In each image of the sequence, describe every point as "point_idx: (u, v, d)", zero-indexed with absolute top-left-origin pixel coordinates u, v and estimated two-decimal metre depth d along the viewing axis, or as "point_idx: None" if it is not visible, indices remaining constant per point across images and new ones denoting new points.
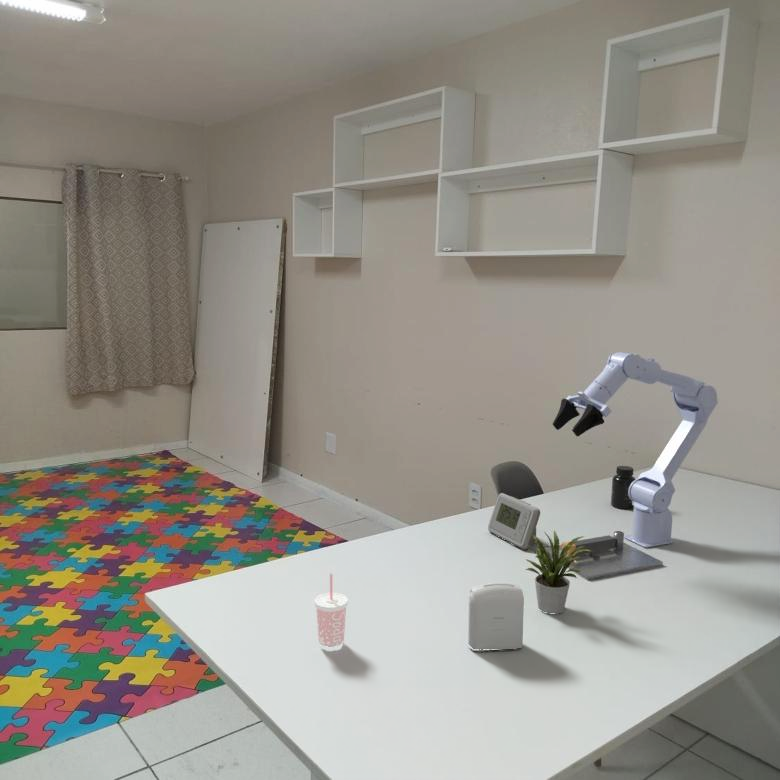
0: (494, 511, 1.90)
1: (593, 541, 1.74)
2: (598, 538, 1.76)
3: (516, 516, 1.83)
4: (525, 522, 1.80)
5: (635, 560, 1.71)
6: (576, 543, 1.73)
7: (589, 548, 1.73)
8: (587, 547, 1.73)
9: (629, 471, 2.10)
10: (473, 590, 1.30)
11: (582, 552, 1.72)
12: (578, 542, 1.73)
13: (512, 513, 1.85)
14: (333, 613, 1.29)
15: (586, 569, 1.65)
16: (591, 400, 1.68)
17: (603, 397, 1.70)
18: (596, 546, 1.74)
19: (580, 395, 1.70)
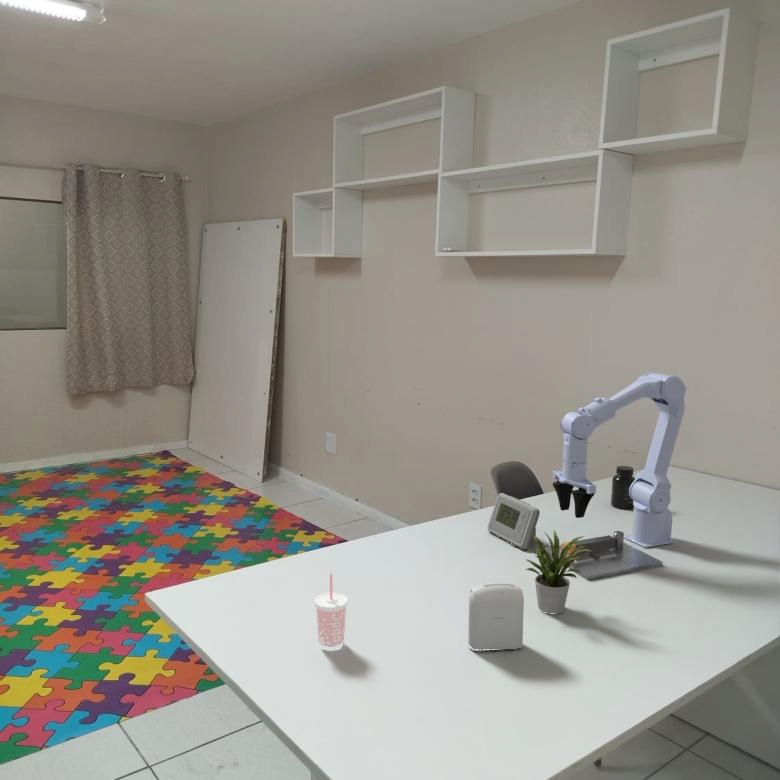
0: (494, 511, 1.91)
1: (593, 541, 1.74)
2: (598, 538, 1.76)
3: (515, 516, 1.83)
4: (524, 522, 1.80)
5: (635, 560, 1.71)
6: (576, 543, 1.73)
7: (589, 548, 1.73)
8: (587, 547, 1.73)
9: (629, 471, 2.10)
10: (473, 590, 1.30)
11: (582, 552, 1.72)
12: (578, 542, 1.73)
13: (511, 513, 1.85)
14: (333, 613, 1.29)
15: (586, 569, 1.65)
16: (574, 484, 1.74)
17: (580, 471, 1.74)
18: (596, 546, 1.74)
19: None
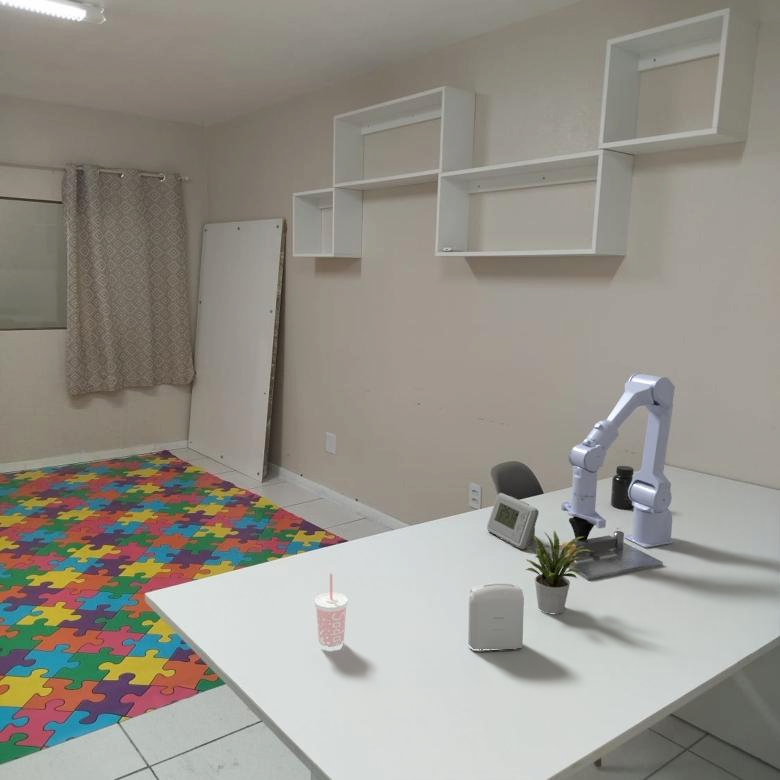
0: (493, 511, 1.91)
1: (593, 541, 1.74)
2: (598, 538, 1.76)
3: (514, 516, 1.83)
4: (523, 522, 1.80)
5: (635, 560, 1.71)
6: (576, 543, 1.72)
7: (589, 548, 1.73)
8: (587, 547, 1.73)
9: (629, 471, 2.10)
10: (473, 590, 1.30)
11: (582, 552, 1.72)
12: (578, 542, 1.73)
13: (511, 513, 1.85)
14: (333, 613, 1.29)
15: (586, 569, 1.65)
16: (583, 517, 1.71)
17: (590, 504, 1.71)
18: (596, 546, 1.74)
19: None
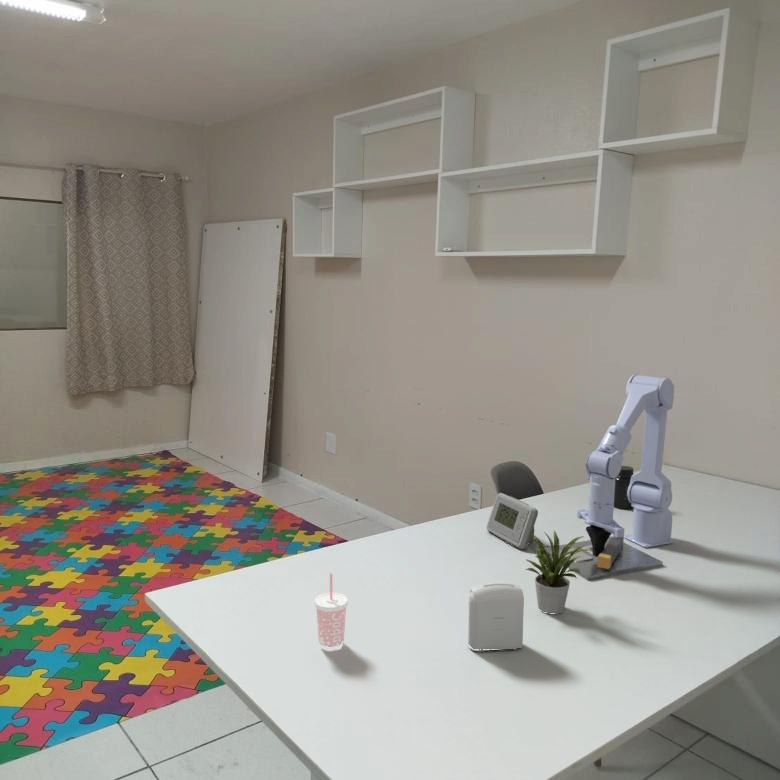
0: (493, 511, 1.91)
1: (614, 547, 1.70)
2: (611, 543, 1.73)
3: (513, 516, 1.83)
4: (523, 522, 1.80)
5: (635, 560, 1.71)
6: (607, 553, 1.66)
7: (614, 555, 1.69)
8: (614, 554, 1.68)
9: (629, 471, 2.10)
10: (473, 590, 1.30)
11: (612, 561, 1.67)
12: (607, 552, 1.67)
13: (510, 513, 1.85)
14: (333, 613, 1.29)
15: (586, 569, 1.65)
16: (600, 526, 1.65)
17: (608, 513, 1.66)
18: (616, 551, 1.71)
19: None
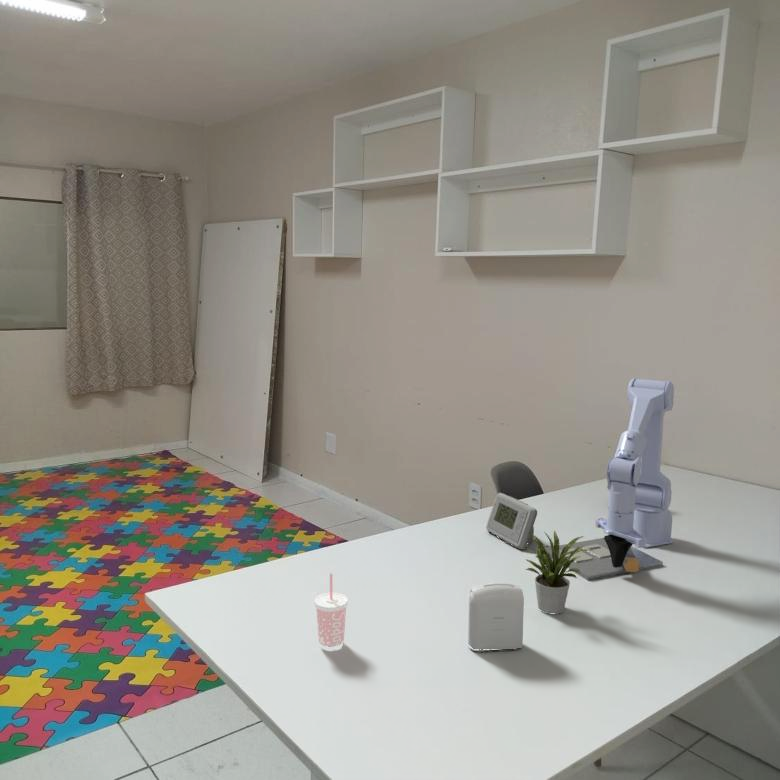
0: (492, 511, 1.91)
1: None
2: None
3: (513, 516, 1.83)
4: (522, 522, 1.80)
5: None
6: (631, 556, 1.65)
7: None
8: None
9: None
10: (473, 590, 1.30)
11: None
12: (628, 554, 1.66)
13: (510, 513, 1.85)
14: (333, 613, 1.29)
15: (586, 569, 1.65)
16: (620, 536, 1.59)
17: (628, 522, 1.60)
18: None
19: None
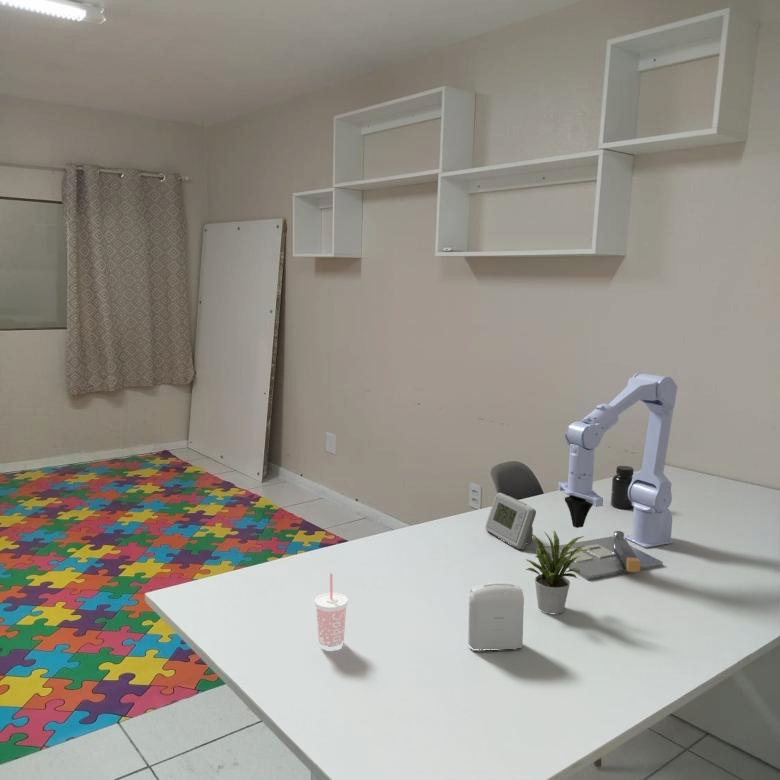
0: (492, 510, 1.91)
1: (629, 548, 1.70)
2: (622, 544, 1.72)
3: (512, 516, 1.83)
4: (520, 522, 1.80)
5: None
6: (632, 556, 1.65)
7: None
8: None
9: (629, 471, 2.10)
10: (473, 590, 1.30)
11: None
12: (629, 554, 1.66)
13: (508, 513, 1.85)
14: (333, 613, 1.29)
15: (586, 569, 1.65)
16: (580, 496, 1.67)
17: (587, 483, 1.68)
18: None
19: None
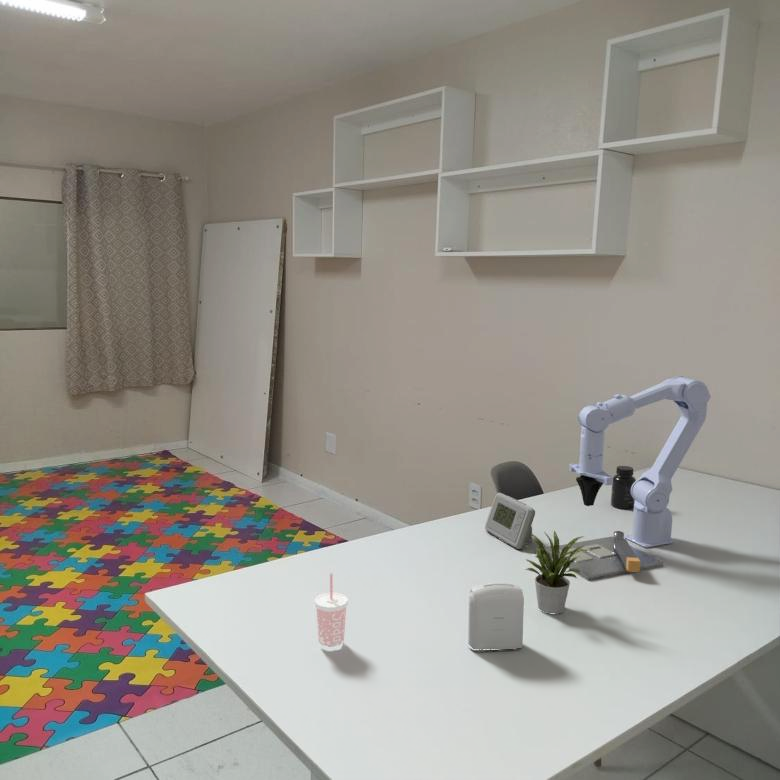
0: (491, 510, 1.91)
1: (629, 548, 1.70)
2: (622, 544, 1.72)
3: (511, 516, 1.83)
4: (520, 522, 1.80)
5: None
6: (632, 556, 1.65)
7: None
8: None
9: (629, 471, 2.10)
10: (473, 590, 1.30)
11: None
12: (629, 554, 1.66)
13: (508, 513, 1.85)
14: (333, 613, 1.29)
15: (586, 569, 1.65)
16: (591, 476, 1.78)
17: (597, 463, 1.78)
18: None
19: None
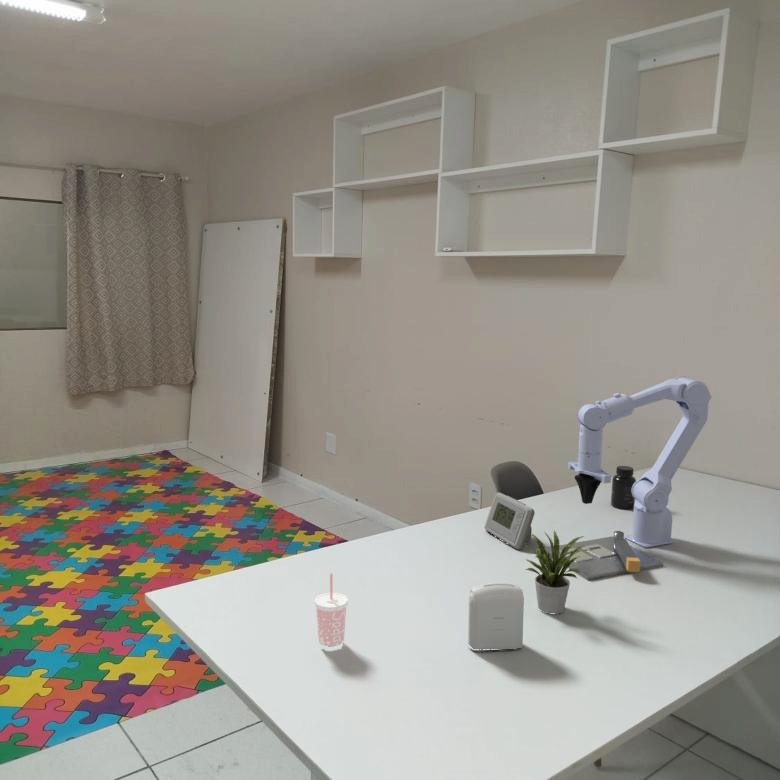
0: (491, 510, 1.91)
1: (629, 548, 1.70)
2: (622, 544, 1.72)
3: (511, 516, 1.83)
4: (519, 522, 1.80)
5: None
6: (632, 556, 1.65)
7: None
8: None
9: (629, 471, 2.10)
10: (473, 590, 1.30)
11: None
12: (629, 554, 1.66)
13: (507, 513, 1.85)
14: (333, 613, 1.29)
15: (586, 569, 1.65)
16: (589, 474, 1.79)
17: (596, 462, 1.79)
18: None
19: None
